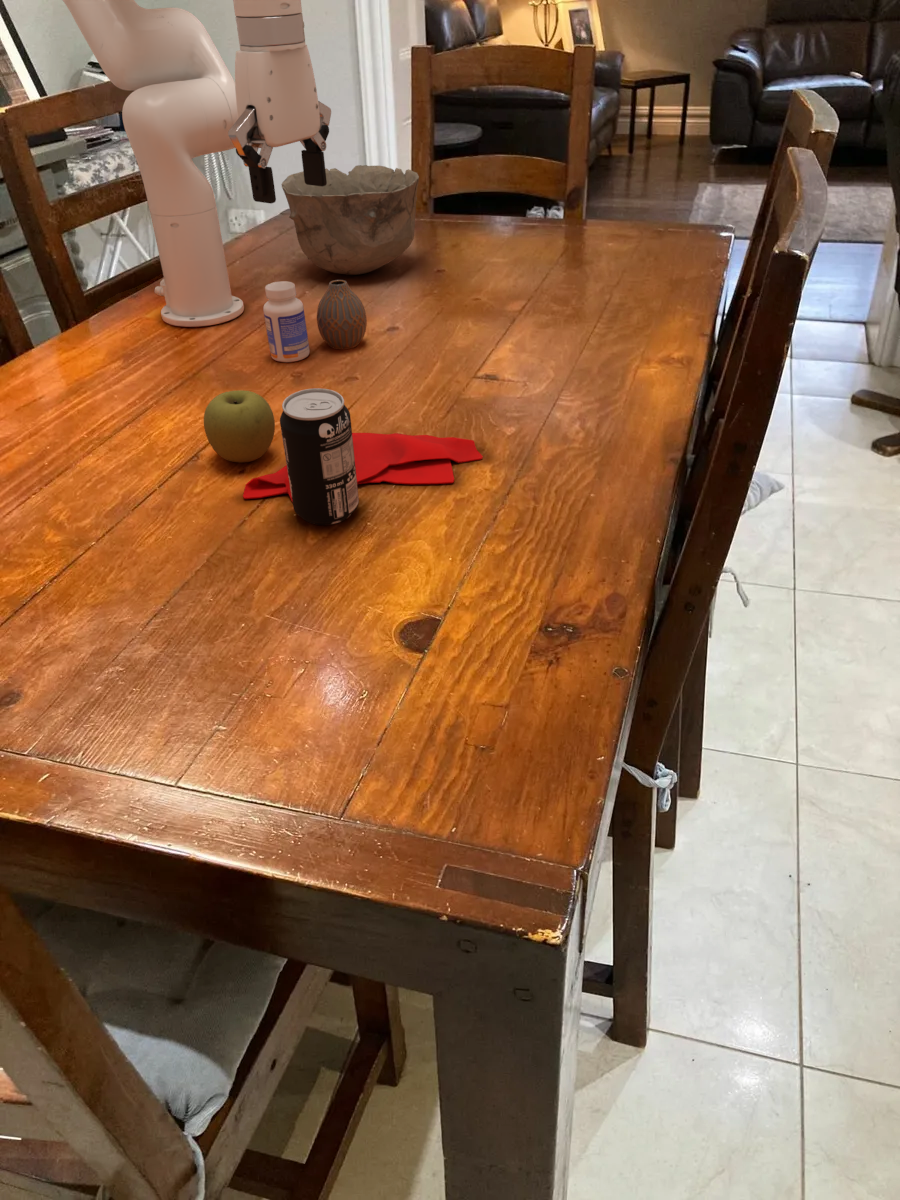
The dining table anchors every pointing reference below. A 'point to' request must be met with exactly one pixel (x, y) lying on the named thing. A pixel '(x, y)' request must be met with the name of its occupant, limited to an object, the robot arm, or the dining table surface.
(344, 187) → the bowl
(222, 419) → the apple
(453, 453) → the cloth
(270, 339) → the pill bottle
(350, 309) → the vase
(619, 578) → the dining table surface
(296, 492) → the beverage can
